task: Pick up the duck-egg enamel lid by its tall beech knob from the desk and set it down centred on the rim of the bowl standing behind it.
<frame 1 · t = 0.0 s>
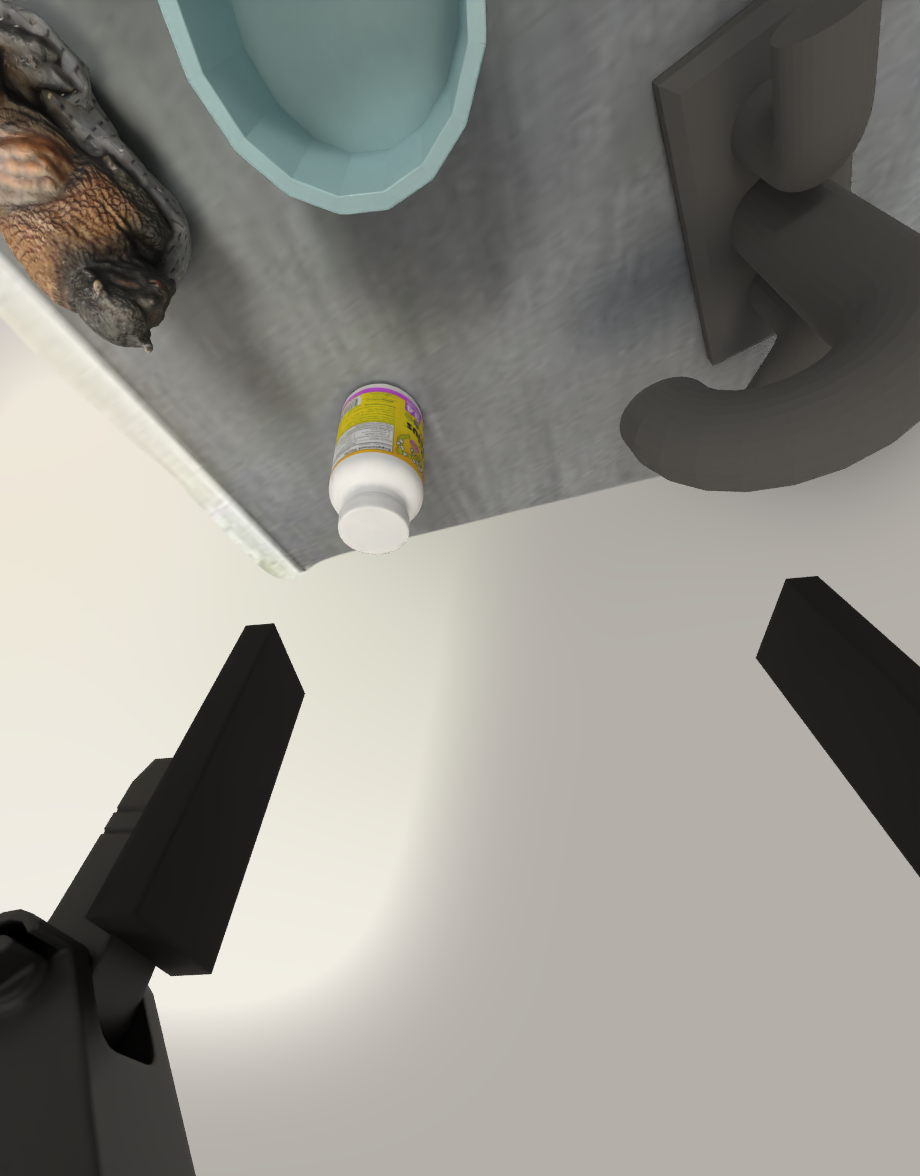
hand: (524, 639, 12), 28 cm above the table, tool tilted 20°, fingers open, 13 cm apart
faucet: (691, 240, 29), on the table
supplement bottle: (383, 415, 38), on the table
brown striped lumpy figure: (108, 158, 25), on the table
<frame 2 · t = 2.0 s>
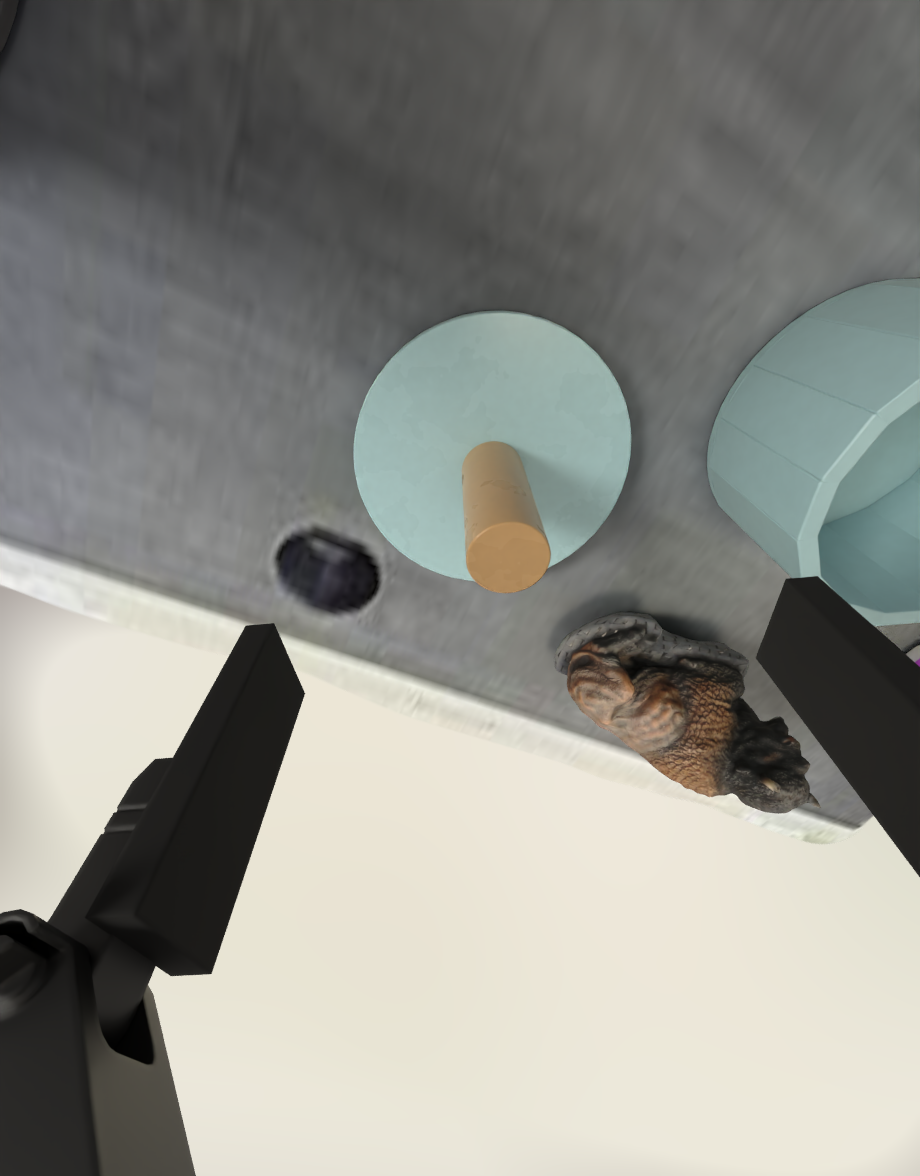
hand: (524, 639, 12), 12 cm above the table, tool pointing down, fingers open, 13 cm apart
bowl: (834, 425, 22), on the table
lid: (491, 465, 22), point 1 cm above the table
brown striped lumpy figure: (642, 640, 30), on the table
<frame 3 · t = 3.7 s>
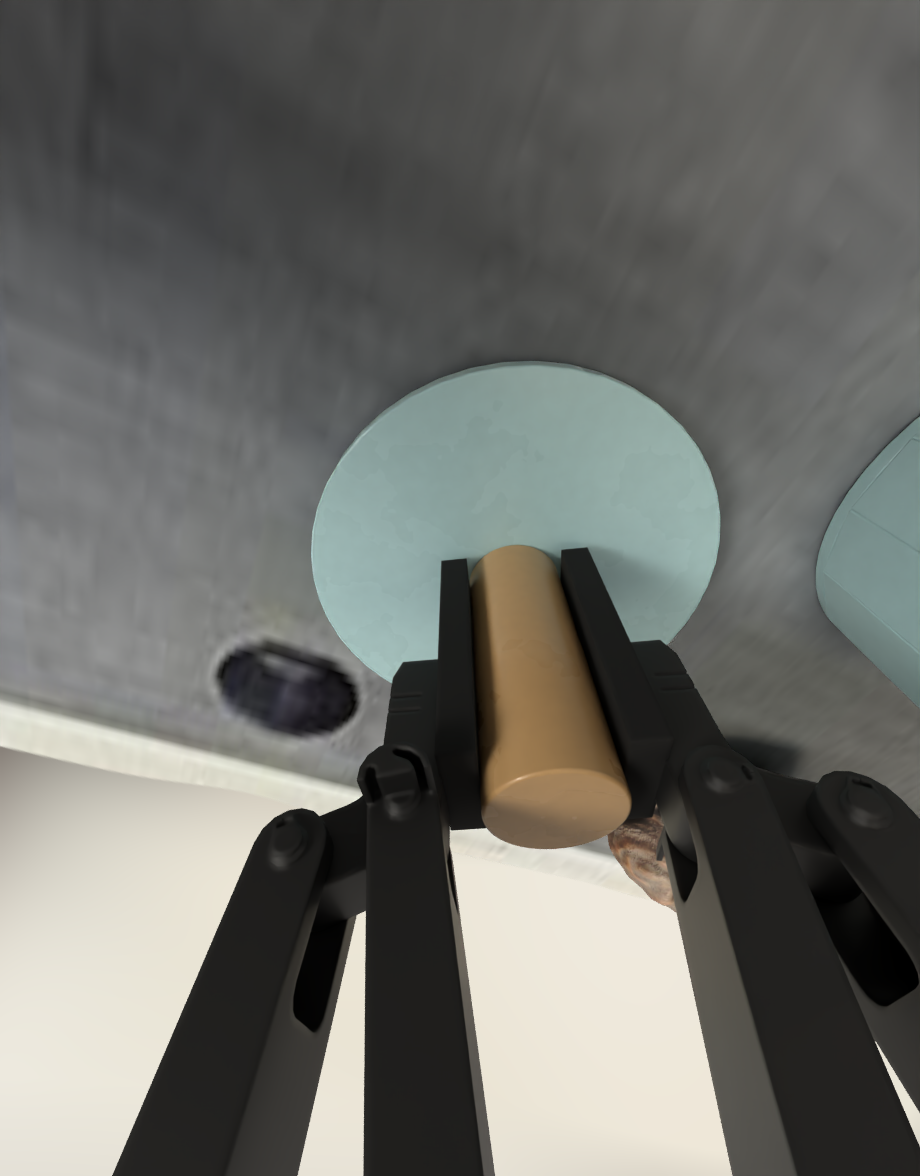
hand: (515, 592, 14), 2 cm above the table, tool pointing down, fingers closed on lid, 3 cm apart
lid: (511, 571, 15), point 1 cm above the table, touching gripper
brown striped lumpy figure: (700, 762, 23), on the table
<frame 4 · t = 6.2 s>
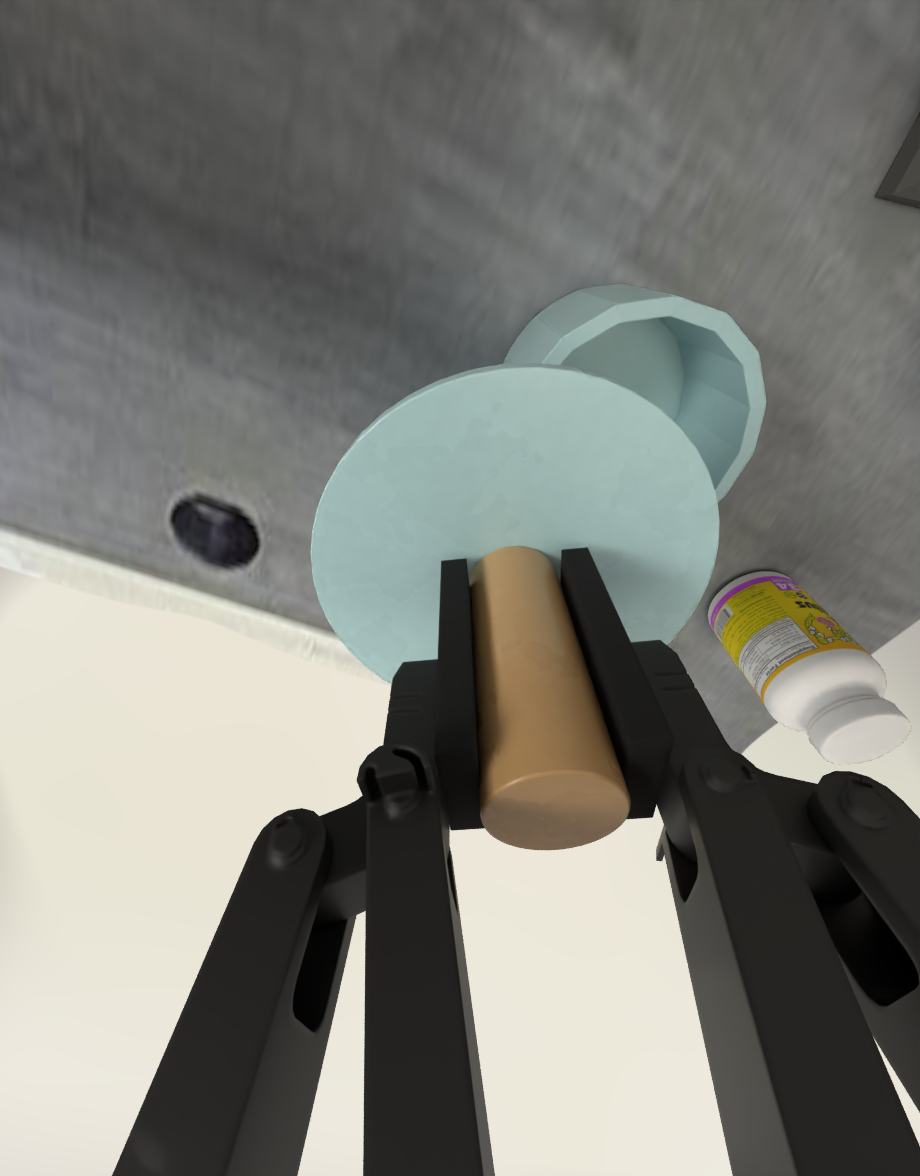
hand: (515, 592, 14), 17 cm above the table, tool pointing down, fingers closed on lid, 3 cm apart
bowl: (591, 400, 27), on the table
lid: (510, 572, 15), point 16 cm above the table, touching gripper
supplement bottle: (746, 600, 37), on the table
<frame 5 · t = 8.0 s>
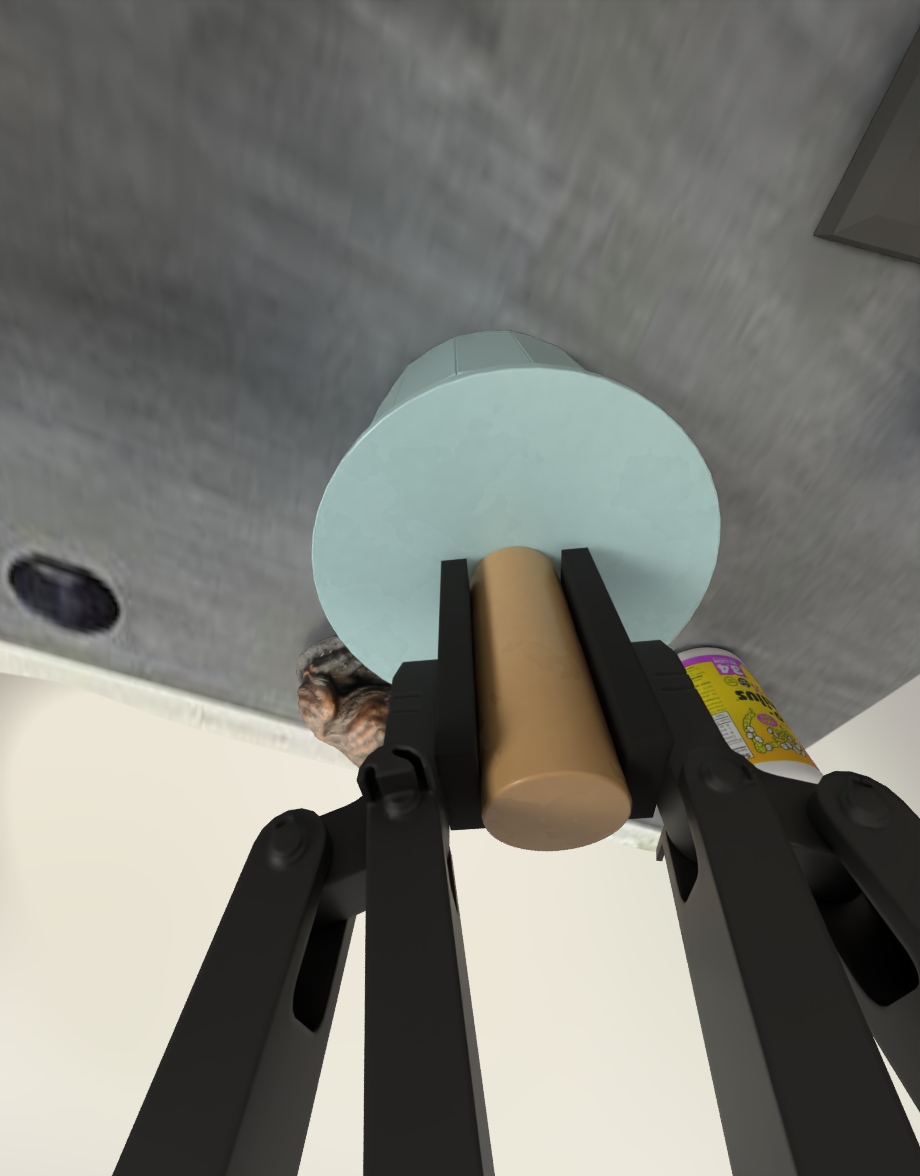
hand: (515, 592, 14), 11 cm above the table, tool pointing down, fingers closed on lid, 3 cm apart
bowl: (489, 461, 23), on the table
lid: (511, 573, 15), point 10 cm above the table, touching gripper
supplement bottle: (689, 675, 32), on the table
brown striped lumpy figure: (397, 658, 31), on the table
when the fingers open (9 cm above the table, at t = 8.8 s): lid stays where it is, resting on bowl.
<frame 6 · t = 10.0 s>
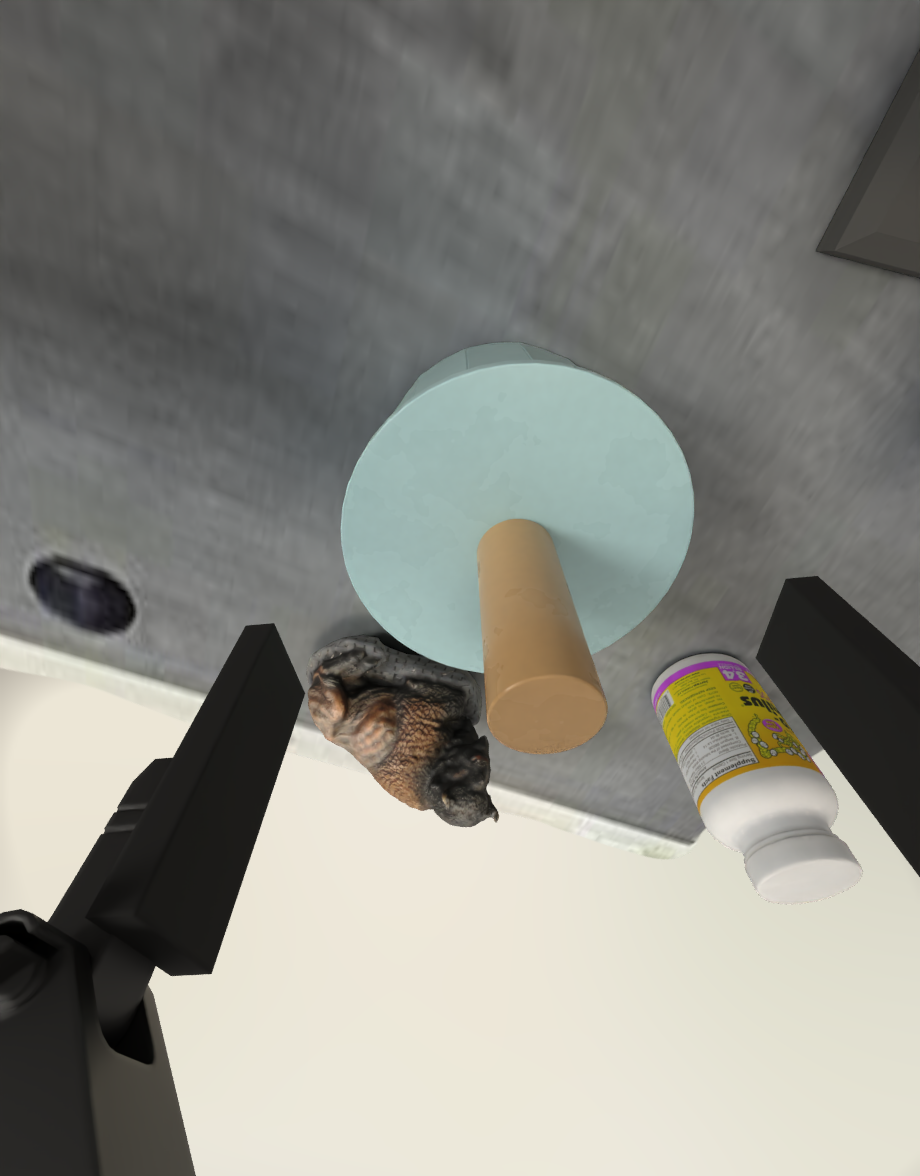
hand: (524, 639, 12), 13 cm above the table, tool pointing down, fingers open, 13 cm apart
bowl: (498, 468, 23), on the table
lid: (513, 544, 17), point 7 cm above the table, touching bowl
supplement bottle: (695, 681, 33), on the table
brown striped lumpy figure: (405, 661, 31), on the table
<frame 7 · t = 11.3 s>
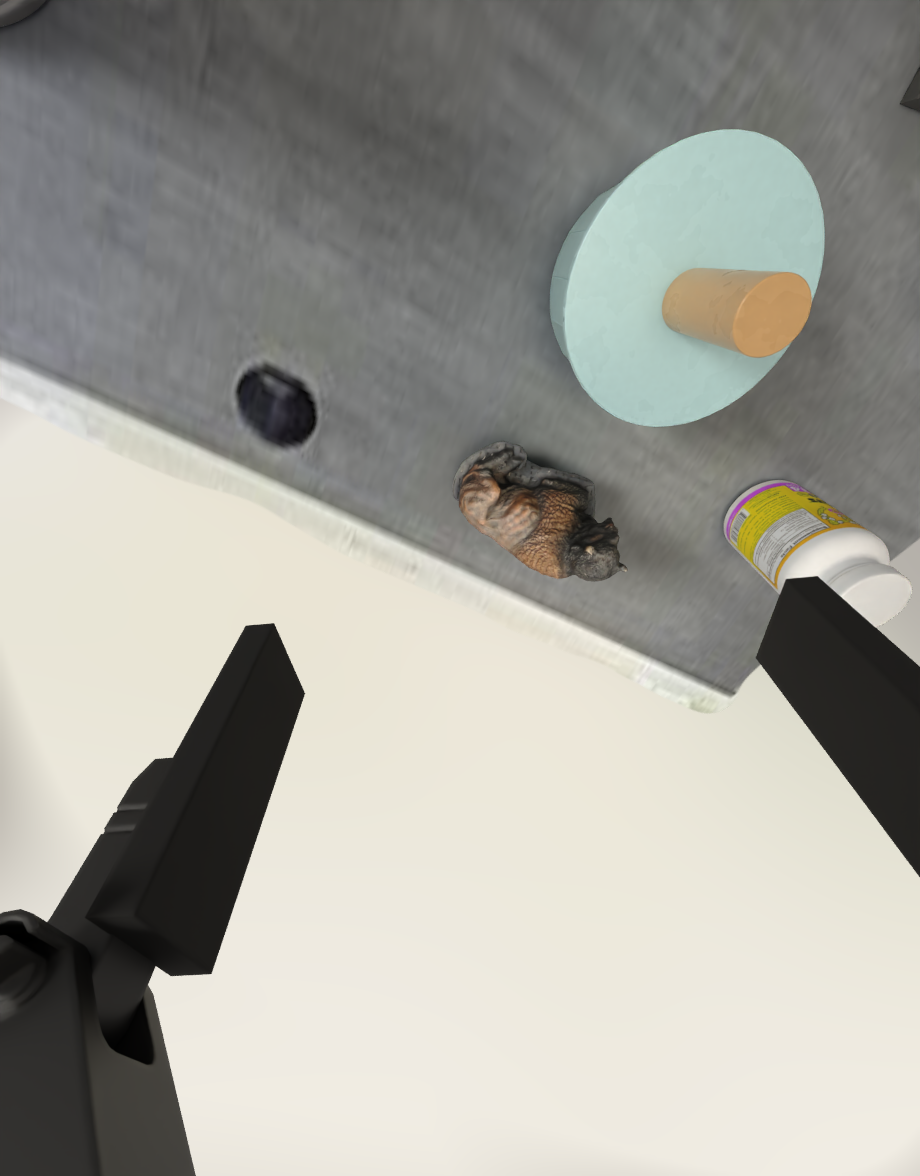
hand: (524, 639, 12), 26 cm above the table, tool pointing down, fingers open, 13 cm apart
bowl: (637, 289, 30), on the table
lid: (684, 300, 24), point 7 cm above the table, touching bowl
supplement bottle: (759, 512, 40), on the table
brown striped lumpy figure: (526, 484, 38), on the table
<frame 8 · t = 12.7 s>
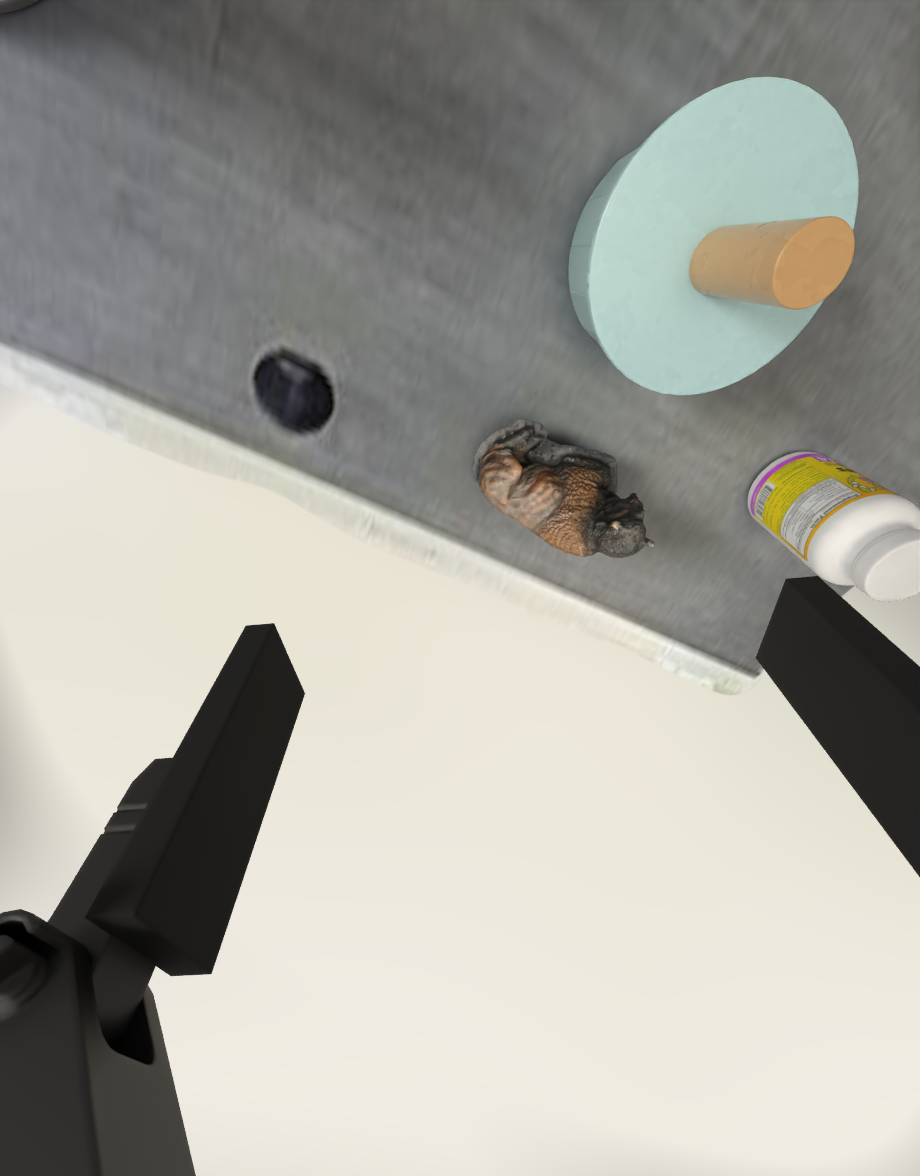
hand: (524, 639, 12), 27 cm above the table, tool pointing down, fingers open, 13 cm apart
bowl: (658, 257, 29), on the table
lid: (712, 261, 23), point 7 cm above the table, touching bowl
supplement bottle: (784, 486, 39), on the table
brown striped lumpy figure: (545, 464, 38), on the table
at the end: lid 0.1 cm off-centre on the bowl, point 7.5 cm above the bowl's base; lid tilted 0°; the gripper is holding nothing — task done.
